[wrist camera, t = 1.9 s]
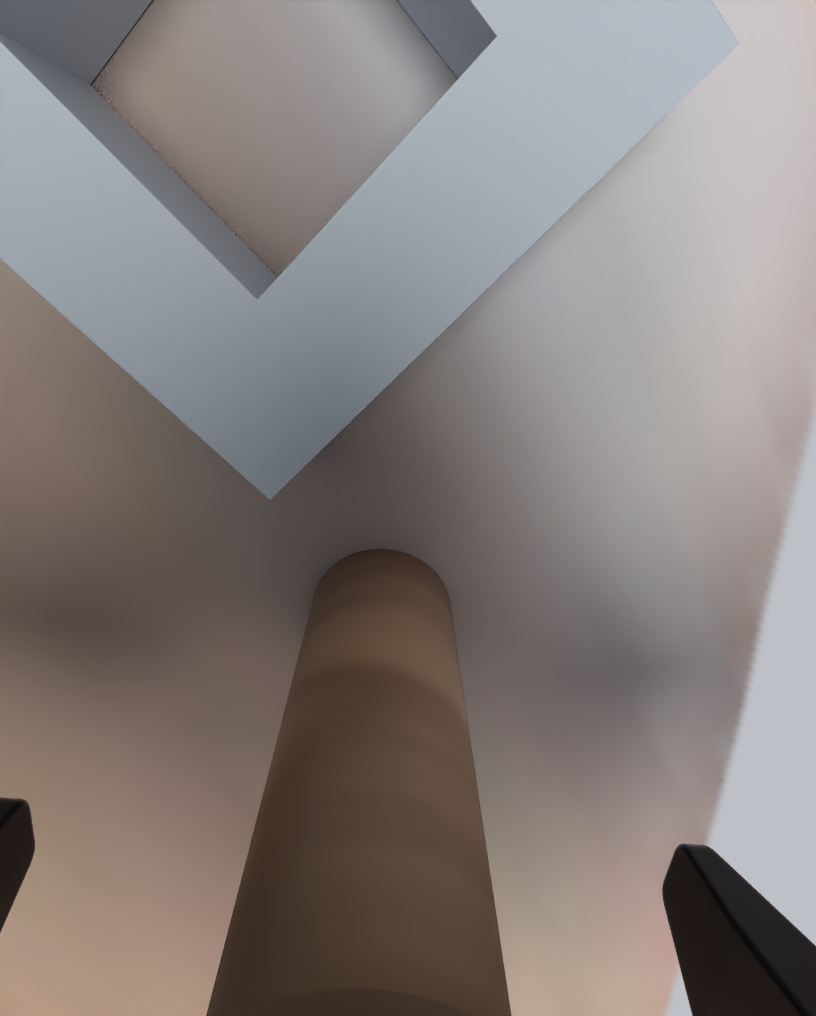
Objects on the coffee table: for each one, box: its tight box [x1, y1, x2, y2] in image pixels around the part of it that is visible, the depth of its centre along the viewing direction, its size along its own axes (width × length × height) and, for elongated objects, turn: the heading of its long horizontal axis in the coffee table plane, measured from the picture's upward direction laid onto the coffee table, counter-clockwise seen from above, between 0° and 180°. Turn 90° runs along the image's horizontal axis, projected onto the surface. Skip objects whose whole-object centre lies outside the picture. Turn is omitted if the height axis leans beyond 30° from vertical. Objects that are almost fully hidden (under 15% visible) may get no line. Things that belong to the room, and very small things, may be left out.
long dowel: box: [206, 549, 511, 1016], centre depth 10 cm, size 3×3×9 cm
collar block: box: [0, 0, 739, 500], centre depth 9 cm, size 9×9×3 cm
